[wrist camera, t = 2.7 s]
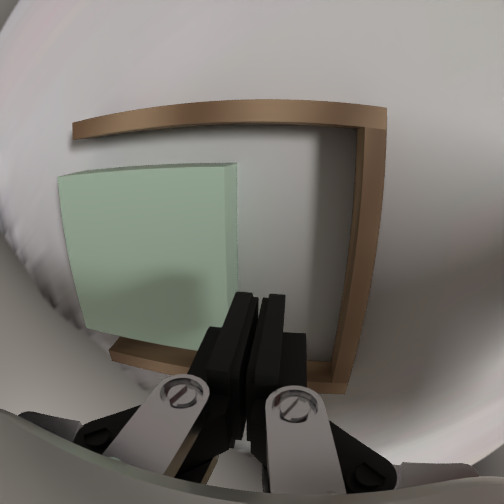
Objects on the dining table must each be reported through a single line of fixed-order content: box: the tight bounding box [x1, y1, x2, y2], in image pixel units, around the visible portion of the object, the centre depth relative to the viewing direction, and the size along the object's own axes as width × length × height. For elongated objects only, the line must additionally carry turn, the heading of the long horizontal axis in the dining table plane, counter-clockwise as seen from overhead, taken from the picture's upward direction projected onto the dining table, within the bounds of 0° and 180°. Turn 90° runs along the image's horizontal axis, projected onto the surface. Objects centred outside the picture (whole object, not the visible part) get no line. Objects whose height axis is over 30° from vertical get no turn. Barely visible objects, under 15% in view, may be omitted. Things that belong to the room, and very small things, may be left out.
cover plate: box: [57, 163, 238, 351], centre depth 17 cm, size 10×10×3 cm
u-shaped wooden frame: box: [72, 99, 387, 394], centre depth 16 cm, size 16×16×2 cm
